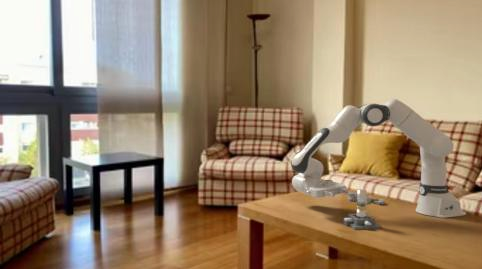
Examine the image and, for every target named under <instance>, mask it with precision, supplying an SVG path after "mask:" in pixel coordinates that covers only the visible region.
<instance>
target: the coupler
mask: <svg viewBox="0 0 482 269" xmlns="http://www.w3.org/2000/svg"><path fill="white" fill-rule="evenodd" d="M356 191H357V202H356V214H357V217H356V218H358V219H363V218H366V214H367V204H368V203H367V197H368V196H367V195H368V190H367V189H363V188H362V189H361V188H359V189H357V190H356Z"/></svg>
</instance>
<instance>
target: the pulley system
mask: <svg viewBox="0 0 482 269" xmlns="http://www.w3.org/2000/svg"><path fill="white" fill-rule="evenodd" d="M347 195H348V197H347V201H348V202H351V203H357V192H351V191H348V194H347ZM385 200H386V199H383V198H379V199H377V198H372V196H367V203H366V204H370V203H374V204H378V205H380V206H382V205H384V204H385V203H386V202H385Z"/></svg>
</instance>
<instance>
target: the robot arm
mask: <svg viewBox="0 0 482 269" xmlns="http://www.w3.org/2000/svg"><path fill="white" fill-rule="evenodd" d="M386 122H389V123H391V124H392V125H393V126H395V128H397V129H398V130H399V131H400V132H401V133H403V134H404V135H405V136H406V137H407V138H409V139H410V140H412V141H413V142H414V143H415V144H417V145H418V146H419V152H420V153H419V154H420V161H421V163H420V164H421V171H420V173H421V174H420V182H419V190H418V191H419V197H418V202H417V206H416V208H415V212H417V213H418V214H421V215H425V216H431V217H438V218H441V219H442V218H445V219H447V218H454V217H462V216H466V215H467V213H466V211H464V210H463V209H462V206H461V202H460V200H459V199H457V197H455V195H453V194H451V193H450V191H453V190H454V186H453V185H448V184H447V174H448V173H447V172H448V168H447V164H446V157H448V156H449V155H450V154H452V152H453V150H454V147H455V146H454V142H453V140H452V139H451V138H450V137H449V136H448V135H447V134H445V133H444V132H443V131H441V130H440V129H439V128H437V127H436V126H435V125H433V124H432V123H430V122H429V121H427V120H426V119H424V117H422V116H421V115H419V113H417V112H416V111H415V110H414V109H412V108H411V107H410V106H408V105H407V104H405V103H404V102H403V101H401V100H398V98H397V99H396V98H391V99H389V100H386V102H385V103H384V104H379V103H375V102H370V103H366V104H362V105H361V106H359V107H356V106H354V105H351V104H350V105H345V106H344V107H343V108H342V109H341V110H340V111H339V112H338V113H337V115H336V116H335V117H334V118H333V120H332V121H331V122H330V123H329V124H328V125H326V126H325V127H323V128H320V130H317V132H316V133H315V134H314V135H313V136H312V137H311V139H310V140H308V142H307V143H306V144H305V145H304V146H303V147H302V148H301V149H300V150H299V151H298V152H296V153H295V154H294V155H293V156H292V157H291V159H290V166H291V170H292V171H293V172H295V173H297V174H296V175H294V176H293V177H292V179H291V185H292V186H293V189H295V191H297V192H298V193H302V194H305V195H309V196H311V197H312V198H317V199H319V198H324V197H325V198H326V197H330V198H333V197H335V196H336V195H342V194H343V195H348V193H349V190H347V186H346V184H342V183H340V182H336V181H334V180H332V179H323V178H322V177H323V174H324V171H325V170H324V165H323V163H322V161H320V160H318V159H316V158H313V157H312V156H314V154H315V153H316V152H317V151H318V149H320V148H321V146H323V145H325V144H330V143H331V144H333V143H334V144H340V143H344V142H346V141H347V140H348V139H349V138H350V136H351V135H352V133H353V132H354V131H355V129H356V128H357V127H358V126H359V125H361V124H364V125H366V126H369V127H378V126H380V125H382V124H384V123H386Z"/></svg>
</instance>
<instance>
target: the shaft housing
mask: <svg viewBox="0 0 482 269" xmlns="http://www.w3.org/2000/svg"><path fill="white" fill-rule="evenodd" d="M347 215H348V216H347V217H343V218H341V221H342V222H343V225H344V226H346V227H351V228H352V229H353V230H365V231H369V230H370V231H373V230H375V229H382V225H381V224H379V223H378V222H376V218H374V217H373V216H371V215H370V214H367V213H366V218H363V219H358V218H356V217H357V213H348V214H347Z"/></svg>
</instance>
